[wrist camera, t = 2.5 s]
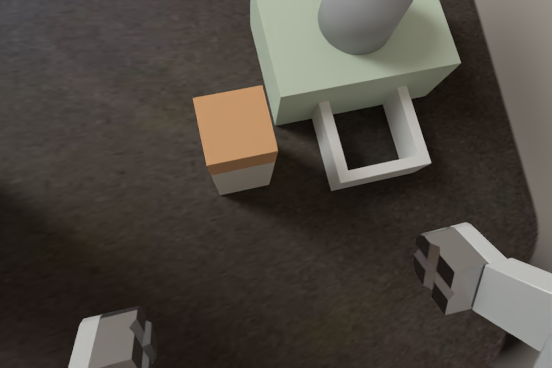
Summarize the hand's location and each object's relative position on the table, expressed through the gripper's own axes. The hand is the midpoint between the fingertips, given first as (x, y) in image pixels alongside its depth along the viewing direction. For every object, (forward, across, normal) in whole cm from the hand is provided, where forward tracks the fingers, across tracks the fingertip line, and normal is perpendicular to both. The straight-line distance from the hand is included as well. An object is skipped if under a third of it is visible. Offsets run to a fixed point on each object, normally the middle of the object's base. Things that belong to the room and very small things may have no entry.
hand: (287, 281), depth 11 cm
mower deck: (+29, -13, +7) cm, 33 cm away
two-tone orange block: (+25, 0, +11) cm, 27 cm away
